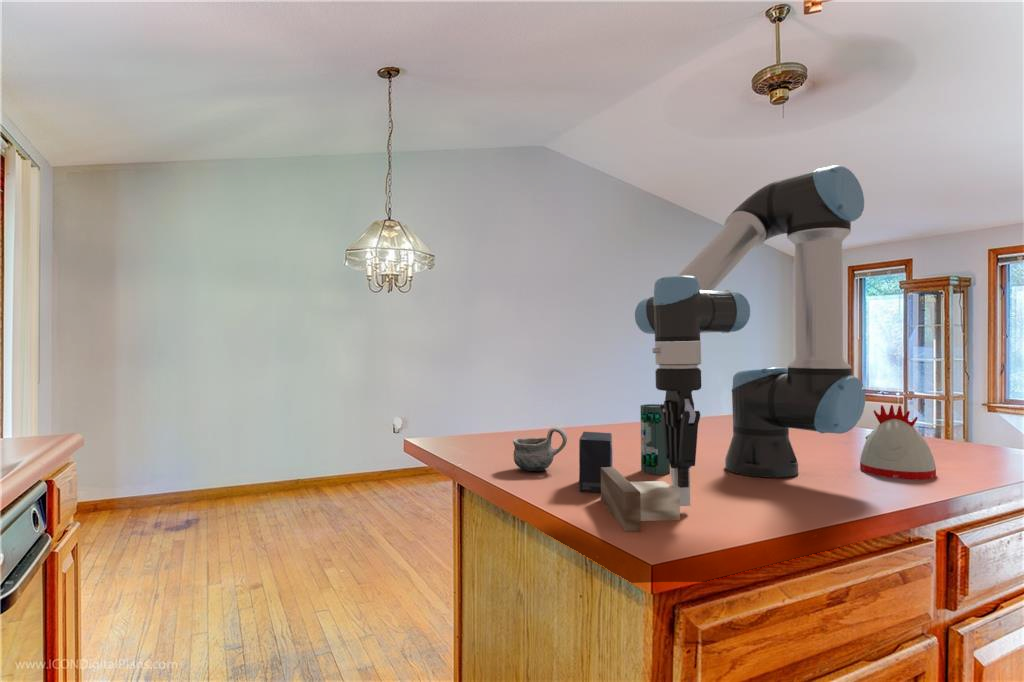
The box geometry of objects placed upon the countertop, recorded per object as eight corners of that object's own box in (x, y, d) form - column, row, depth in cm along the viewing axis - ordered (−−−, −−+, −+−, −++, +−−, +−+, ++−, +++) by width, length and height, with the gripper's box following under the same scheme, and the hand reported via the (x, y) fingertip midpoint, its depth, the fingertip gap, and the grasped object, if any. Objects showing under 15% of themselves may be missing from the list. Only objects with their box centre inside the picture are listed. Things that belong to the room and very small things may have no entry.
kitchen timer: (868, 463, 134) (867, 400, 134) (940, 471, 124) (938, 404, 124) (853, 473, 124) (852, 405, 124) (930, 483, 114) (928, 410, 114)
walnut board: (613, 499, 104) (613, 467, 104) (640, 531, 86) (640, 492, 86) (600, 499, 104) (600, 467, 104) (625, 531, 86) (624, 492, 86)
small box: (612, 494, 108) (611, 439, 108) (578, 492, 109) (577, 438, 109) (613, 481, 118) (612, 431, 118) (582, 479, 120) (581, 431, 120)
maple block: (664, 506, 99) (664, 481, 99) (680, 520, 91) (679, 492, 91) (620, 507, 99) (619, 482, 99) (631, 521, 91) (631, 493, 91)
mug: (513, 465, 134) (513, 424, 134) (565, 465, 134) (565, 423, 134) (512, 475, 125) (512, 430, 125) (568, 474, 124) (568, 429, 124)
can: (638, 469, 129) (637, 404, 129) (663, 468, 130) (662, 404, 130) (647, 475, 123) (646, 407, 123) (673, 474, 124) (673, 406, 124)
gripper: (645, 366, 102) (648, 495, 101) (669, 368, 89) (672, 517, 88) (685, 365, 102) (688, 494, 102) (715, 367, 89) (718, 515, 89)
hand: (681, 504), depth 95 cm, fingers closed
